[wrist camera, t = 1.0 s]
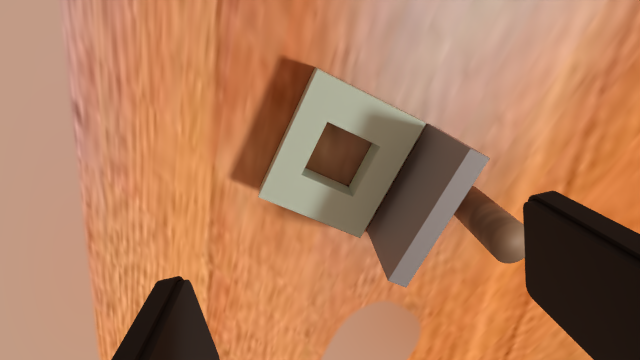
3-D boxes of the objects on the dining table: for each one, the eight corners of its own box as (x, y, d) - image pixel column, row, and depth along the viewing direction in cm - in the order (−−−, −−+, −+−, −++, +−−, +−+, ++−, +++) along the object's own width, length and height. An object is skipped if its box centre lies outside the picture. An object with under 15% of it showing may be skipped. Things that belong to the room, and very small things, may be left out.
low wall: (427, 123, 40) (470, 148, 31) (443, 131, 41) (489, 158, 31) (366, 229, 44) (388, 280, 35) (381, 235, 45) (406, 287, 35)
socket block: (315, 66, 37) (317, 69, 34) (416, 117, 40) (426, 123, 37) (260, 186, 41) (258, 197, 38) (355, 225, 44) (360, 238, 41)
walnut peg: (460, 180, 43) (508, 219, 34) (488, 193, 44) (542, 234, 34) (442, 209, 44) (484, 254, 35) (469, 221, 45) (517, 268, 36)
